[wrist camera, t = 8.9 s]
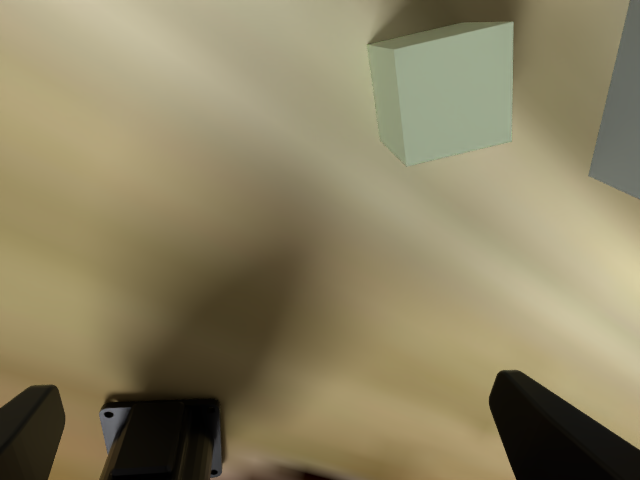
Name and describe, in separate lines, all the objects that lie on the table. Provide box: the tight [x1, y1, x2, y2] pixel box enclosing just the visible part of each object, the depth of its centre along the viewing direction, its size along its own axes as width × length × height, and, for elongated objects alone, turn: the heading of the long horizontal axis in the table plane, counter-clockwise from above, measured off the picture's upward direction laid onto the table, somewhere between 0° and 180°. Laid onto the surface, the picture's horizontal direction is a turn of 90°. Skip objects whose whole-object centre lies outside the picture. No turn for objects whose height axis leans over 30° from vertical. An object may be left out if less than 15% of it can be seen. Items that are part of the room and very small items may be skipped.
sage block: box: [367, 22, 514, 167], centre depth 16 cm, size 4×4×4 cm
